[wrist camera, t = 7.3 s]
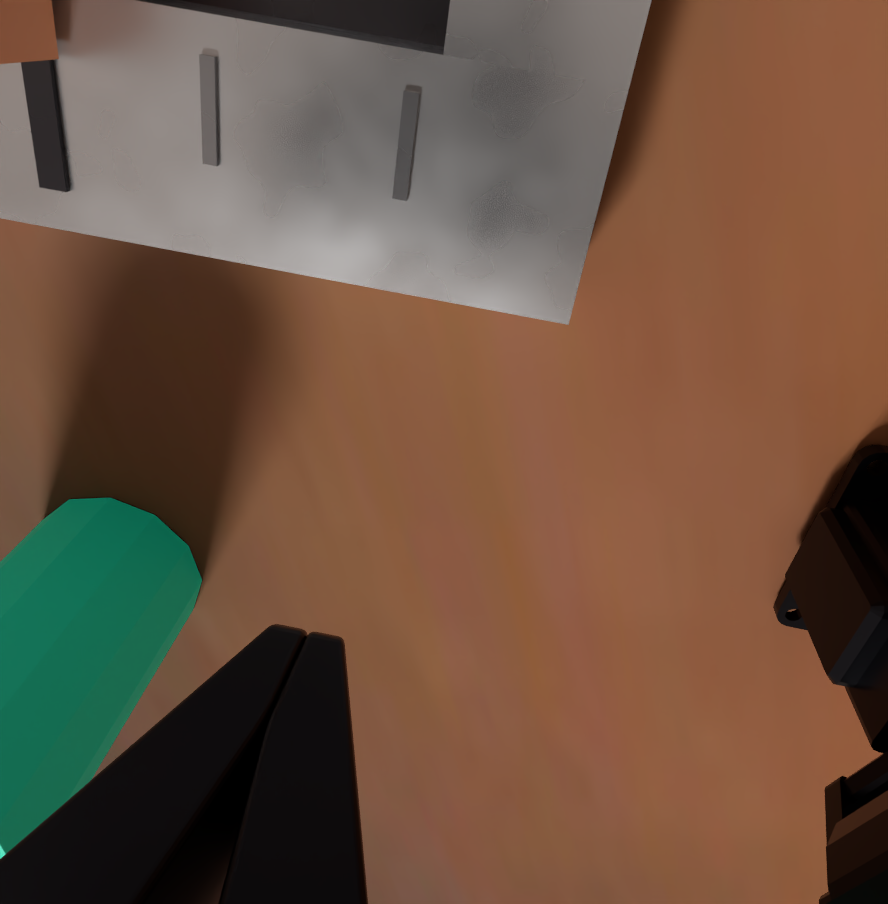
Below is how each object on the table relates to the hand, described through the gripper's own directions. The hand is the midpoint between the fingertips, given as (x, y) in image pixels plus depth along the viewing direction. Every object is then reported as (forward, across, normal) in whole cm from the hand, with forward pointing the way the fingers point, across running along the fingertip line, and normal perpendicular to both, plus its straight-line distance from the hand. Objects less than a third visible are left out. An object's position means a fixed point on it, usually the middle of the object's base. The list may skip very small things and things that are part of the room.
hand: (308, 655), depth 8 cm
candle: (+13, +10, +12) cm, 20 cm away
